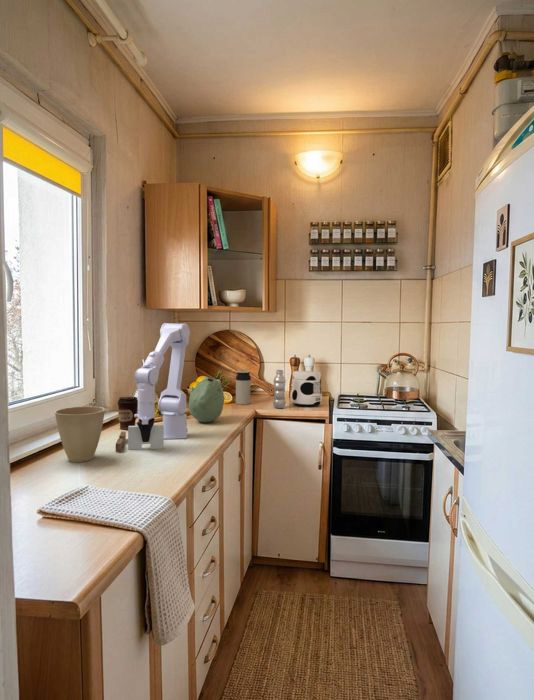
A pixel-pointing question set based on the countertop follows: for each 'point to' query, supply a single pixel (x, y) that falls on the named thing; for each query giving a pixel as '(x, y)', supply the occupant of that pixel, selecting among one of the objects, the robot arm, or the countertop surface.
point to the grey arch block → (154, 441)
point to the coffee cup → (127, 411)
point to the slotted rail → (120, 441)
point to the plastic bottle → (279, 390)
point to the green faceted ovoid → (206, 400)
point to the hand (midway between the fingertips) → (146, 440)
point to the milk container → (306, 388)
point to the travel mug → (243, 387)
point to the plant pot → (80, 431)
